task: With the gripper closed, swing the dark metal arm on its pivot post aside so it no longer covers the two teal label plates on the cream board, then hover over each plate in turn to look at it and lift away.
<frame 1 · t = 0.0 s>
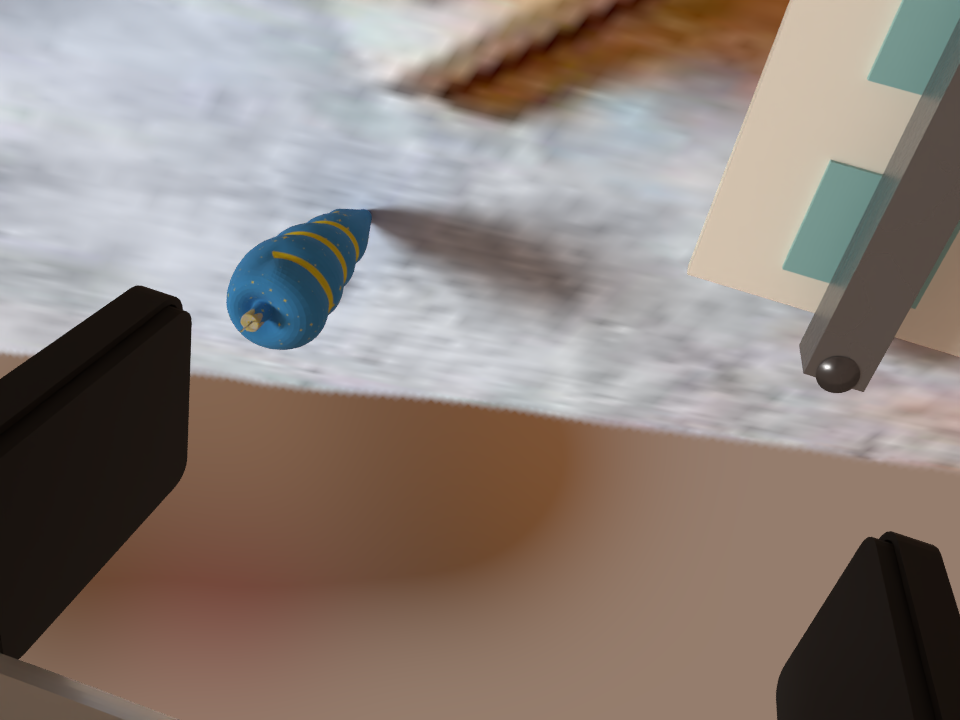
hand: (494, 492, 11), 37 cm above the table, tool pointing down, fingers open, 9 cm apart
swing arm: (944, 141, 37), point 5 cm above the table, hinge at 0.0°
label board: (936, 93, 41), on the table
ornament: (366, 215, 51), on the table
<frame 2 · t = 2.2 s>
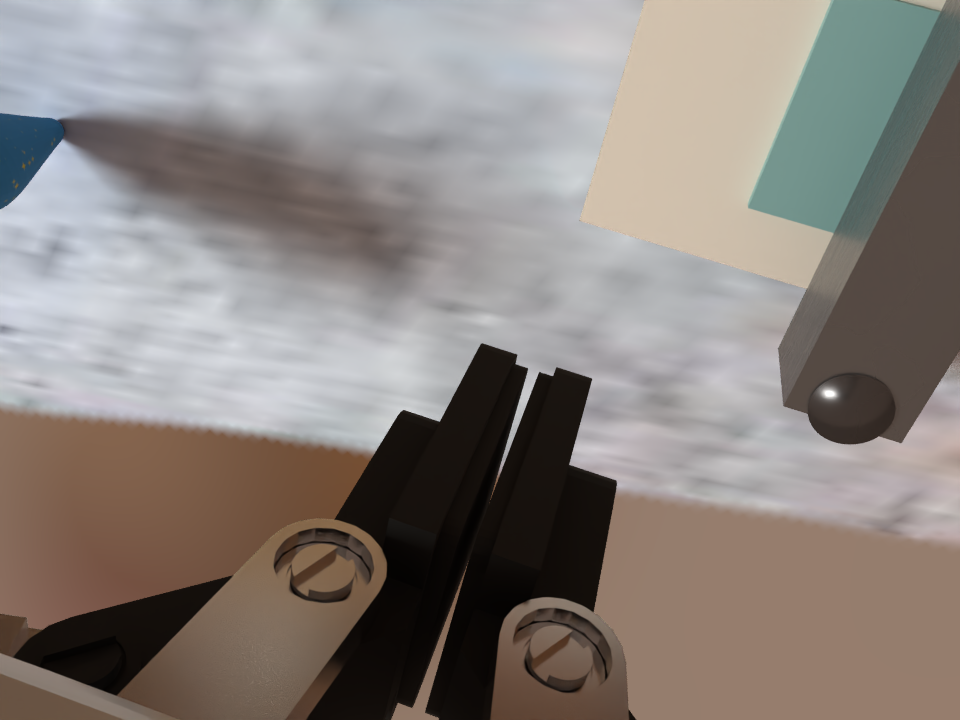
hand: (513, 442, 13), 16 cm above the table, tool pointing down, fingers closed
ornament: (59, 130, 31), on the table
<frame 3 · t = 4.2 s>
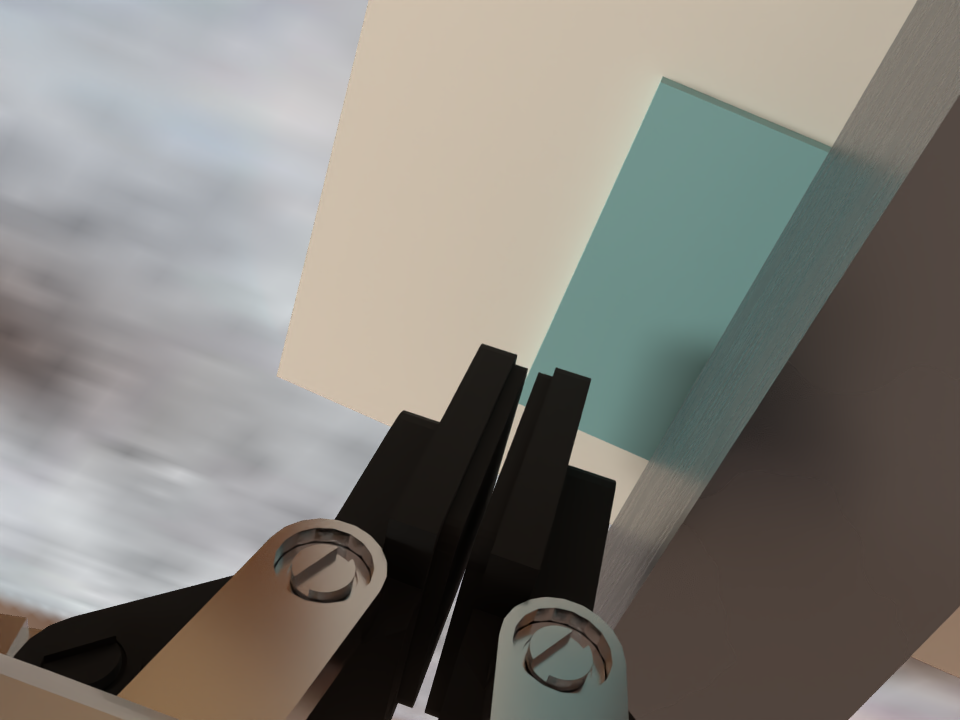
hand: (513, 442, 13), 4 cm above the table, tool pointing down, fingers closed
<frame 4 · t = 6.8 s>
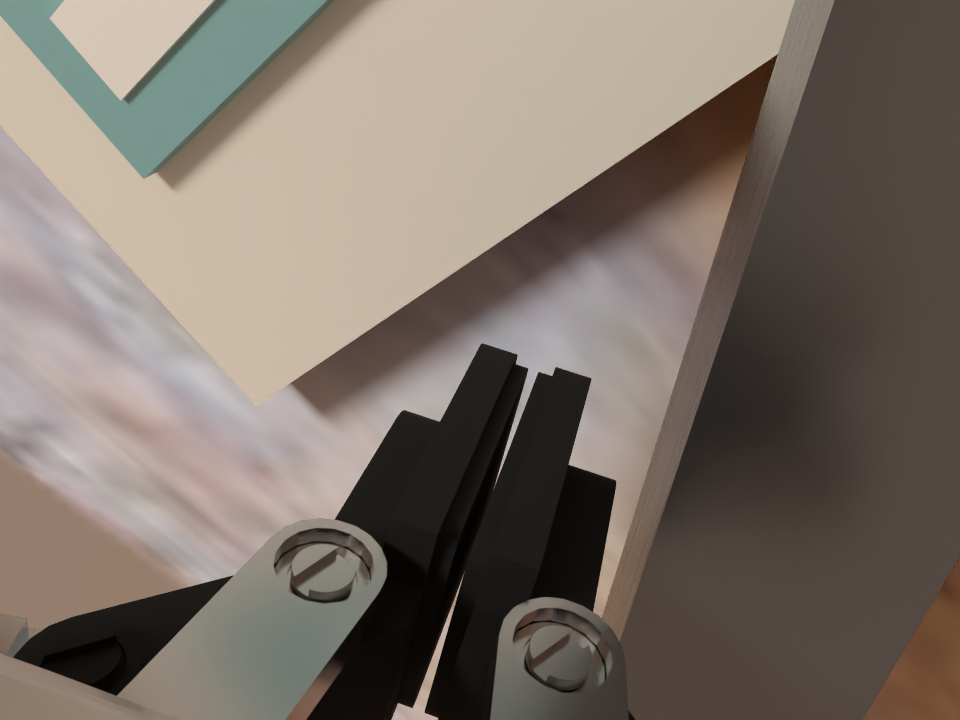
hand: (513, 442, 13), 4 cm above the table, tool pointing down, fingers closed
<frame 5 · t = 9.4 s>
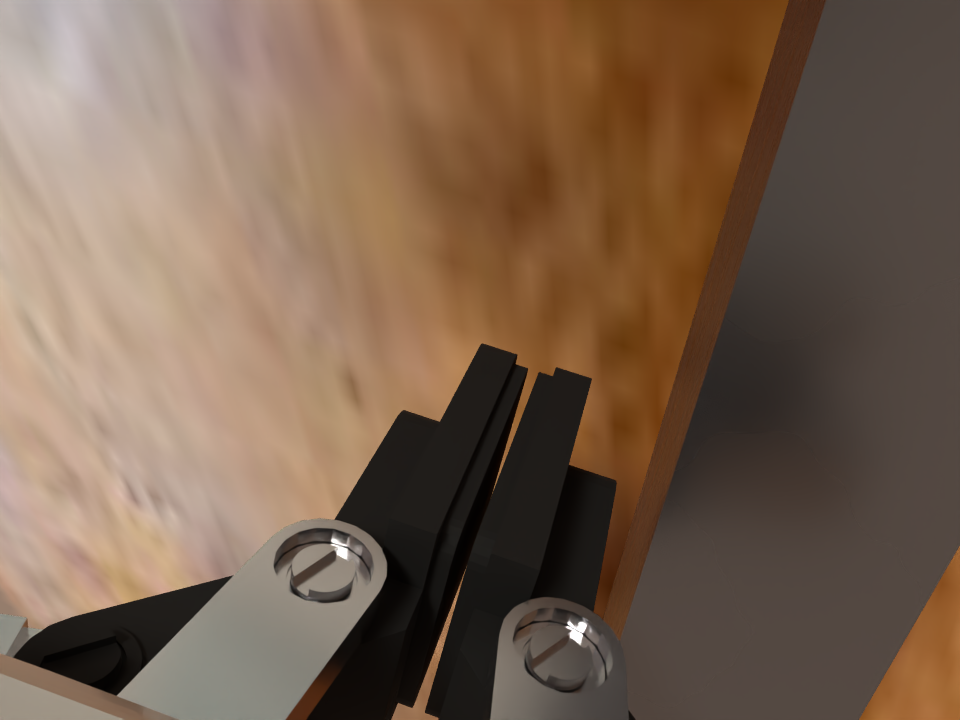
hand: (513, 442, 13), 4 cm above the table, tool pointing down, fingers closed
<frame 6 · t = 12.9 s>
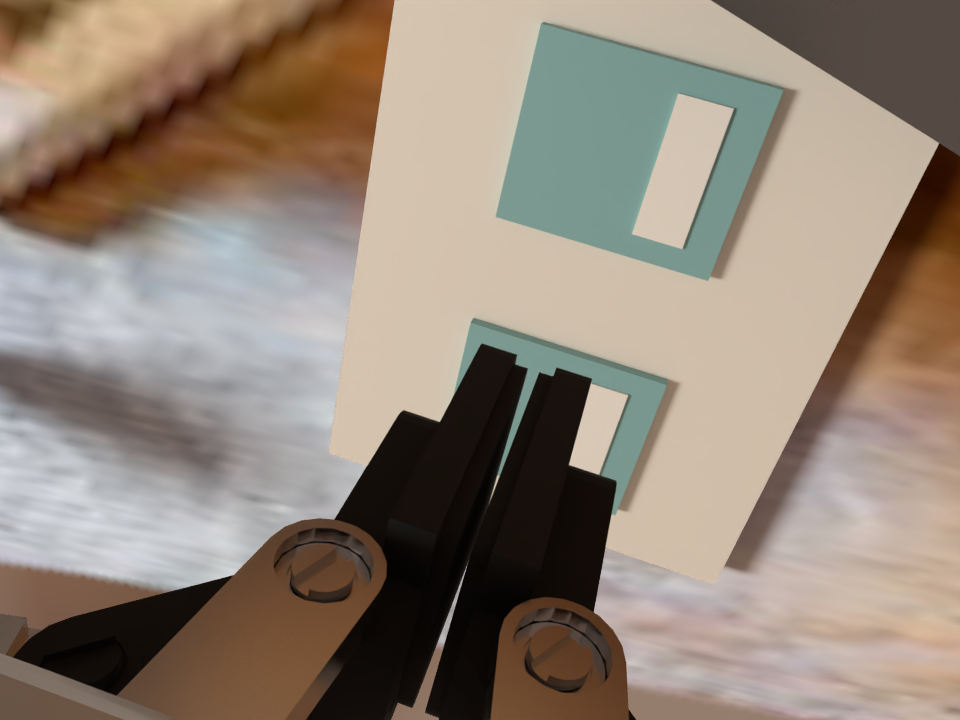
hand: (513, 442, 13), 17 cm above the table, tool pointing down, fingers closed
label board: (606, 231, 28), on the table
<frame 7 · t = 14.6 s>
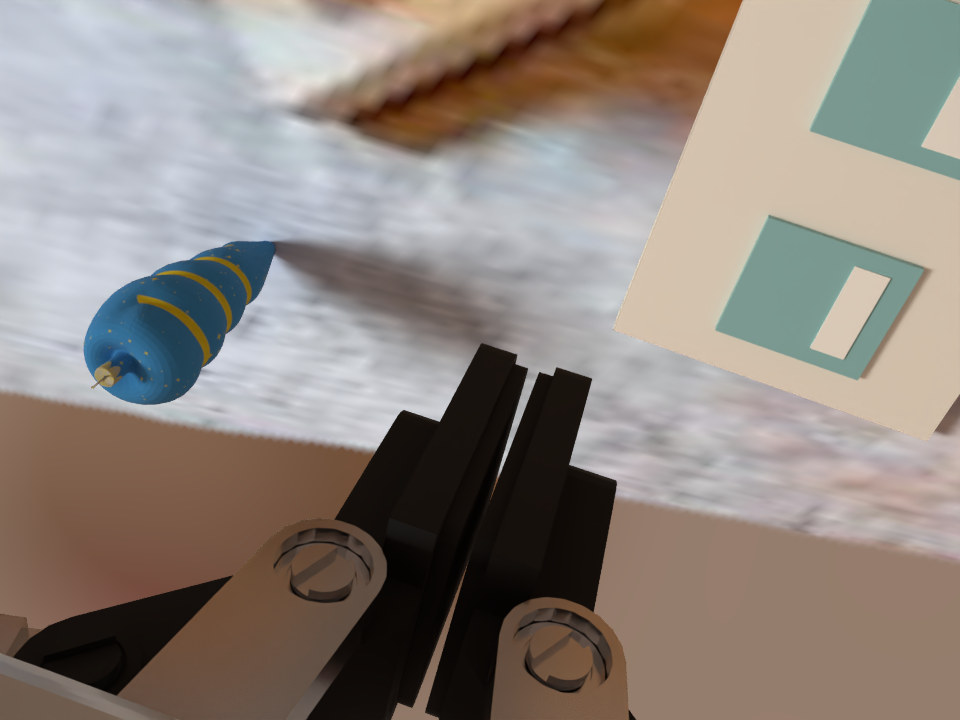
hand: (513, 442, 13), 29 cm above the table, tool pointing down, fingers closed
label board: (885, 148, 37), on the table
ornament: (269, 247, 47), on the table
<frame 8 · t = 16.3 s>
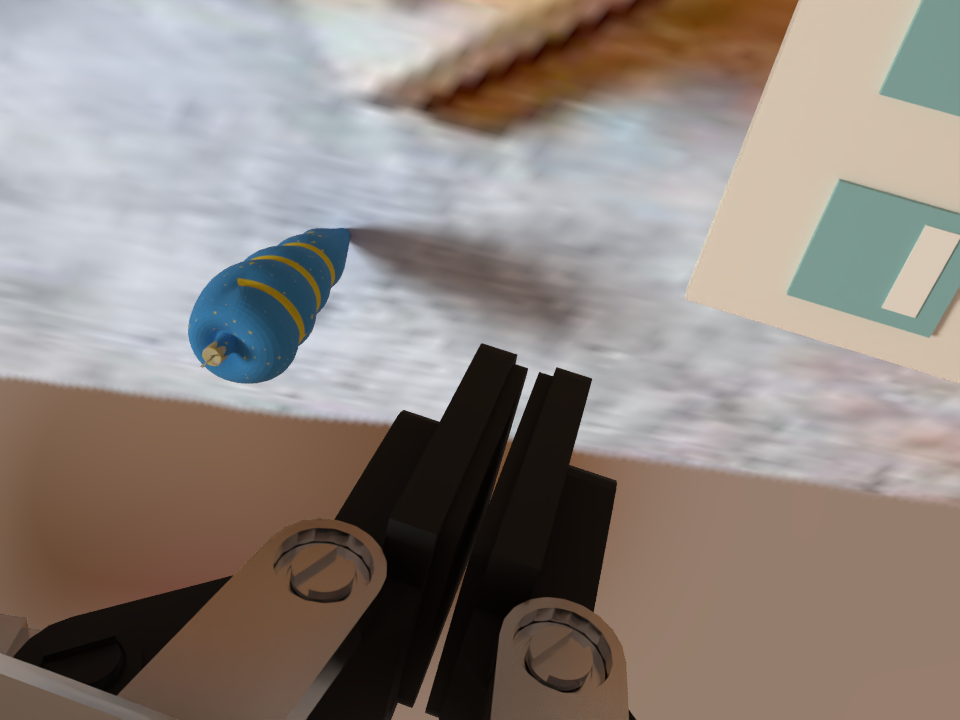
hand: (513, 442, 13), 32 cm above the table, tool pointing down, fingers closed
label board: (953, 108, 38), on the table
ornament: (344, 234, 49), on the table
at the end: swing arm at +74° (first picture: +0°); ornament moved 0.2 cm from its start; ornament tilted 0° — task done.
